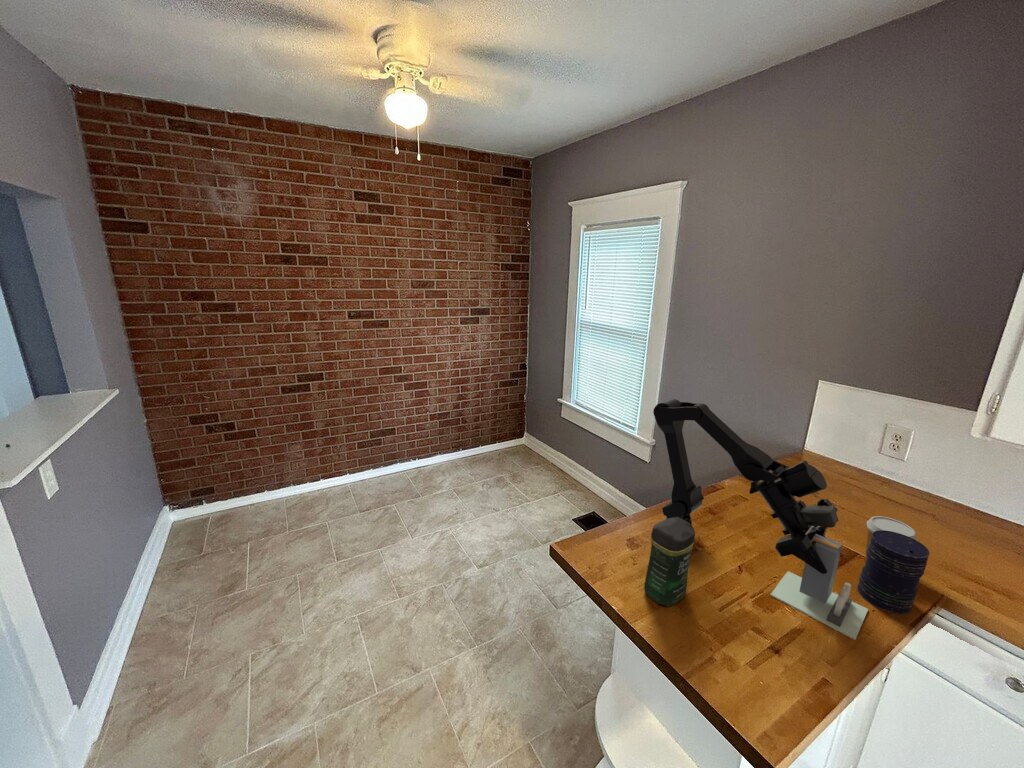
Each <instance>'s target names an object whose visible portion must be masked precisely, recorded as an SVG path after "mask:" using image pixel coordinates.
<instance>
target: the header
mask: <svg viewBox="0 0 1024 768" xmlns="http://www.w3.org/2000/svg"><path fill="white" fill-rule="evenodd" d="M801 581H802V576H799V575H797V574H795V573H793V572H791V571H789V570H788V571H786V573H785V574H784V576H783V577H782V578H781V580H780V581H779V582H778V583H777V585H776V586H775V588H774V589H773V590H772V592H771V593H770V595H769V596H771V597H773V598H774V599H777V600H778V601H780V602H782V603H784V604H785V605H787V606H789V607H792V608H793V609H795V610H798V611H799V612H801V613H803V614H804V615H806V616H809V617H810V618H813V619H815V620H816V621H818V622H819V623H822V624H824V625H825V626H828V627H829V628H831V629H833V630H834V631H837V632H838V633H841V634H842V635H845V636H847V637H848V638H851V639H852V640H854V641H856V639H857V638H858V636H859V635H858V634H859V633H860V630H861V628H862V626H863V623H864V621H865V618H866V616H867V614H868V611H869V608H867V607H864V606H863V605H860V604H858V603H856V602H854V601H853V599H852V598H851V597H850V593H851V589H852V584H851V583H849V582H845V583H844V584H843V588H841V589H840V593H835V592H833V591H832V593H831V595H830V597H829V598H828V600H827V602H826V604H824V603H822V602H820V601H818V600H816V599H814V598H812V597H810V596H807V595H805V594H803V593H801V592H799V591H800V586H801Z"/></svg>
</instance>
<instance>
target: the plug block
mask: <svg viewBox="0 0 1024 768" xmlns="http://www.w3.org/2000/svg"><path fill="white" fill-rule="evenodd" d="M813 541H816V547H815V550H816V552H817V554H818V556H819V557H820V559H821V561H822V563H823V564H824V566H825V568H826V570H827V573H826V574H822V573H820V572H819V571H817V570H816V569H814V568H813V567H811V566H810V565H808V564H807V563H805V562H804V567H803V573H802V576H801V577H802V581H801V586H800V591H799V592H801V593H803V594H805V595H807V596H810V597H812V598H814V599H816V600H818V601H820V602H822V603H824V604H826V602H827V600H828V598H829V597H830V595H831V593H832V592H833V587H834V583H835V579H836V574H837V570H838V565H839V561H840V556H841V553H842V547H843V543H841V542H838V541H836V540H833V539H830V538H828V537H826V536H825V537H823V536H820V535H818V534H815V536H814V537H813V538H812V540H811V542H813Z"/></svg>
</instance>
